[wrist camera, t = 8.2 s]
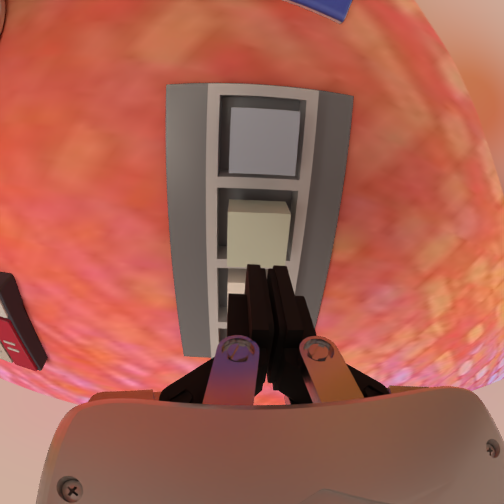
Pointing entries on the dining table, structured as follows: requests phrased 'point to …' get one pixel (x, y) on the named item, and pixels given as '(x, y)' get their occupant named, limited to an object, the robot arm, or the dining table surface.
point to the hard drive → (325, 8)
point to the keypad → (247, 195)
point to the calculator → (17, 329)
